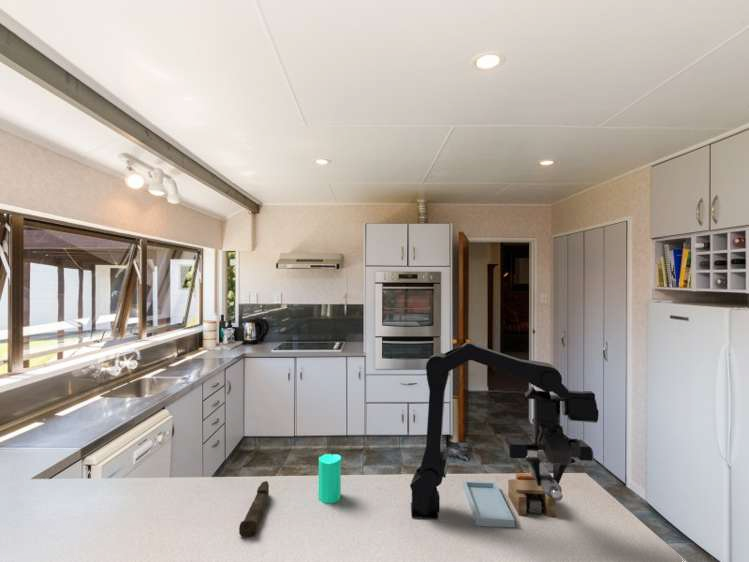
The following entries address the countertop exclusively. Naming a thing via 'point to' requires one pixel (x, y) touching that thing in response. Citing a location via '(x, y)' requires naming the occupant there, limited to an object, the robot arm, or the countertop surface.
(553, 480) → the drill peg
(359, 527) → the countertop surface
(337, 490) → the candle
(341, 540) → the countertop surface
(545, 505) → the socket block
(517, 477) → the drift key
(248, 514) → the dark brown rod
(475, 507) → the tray
